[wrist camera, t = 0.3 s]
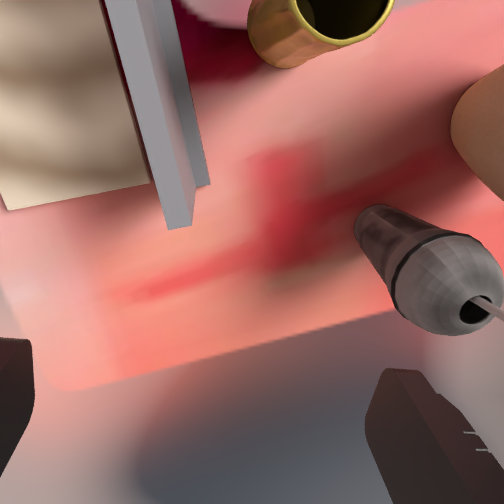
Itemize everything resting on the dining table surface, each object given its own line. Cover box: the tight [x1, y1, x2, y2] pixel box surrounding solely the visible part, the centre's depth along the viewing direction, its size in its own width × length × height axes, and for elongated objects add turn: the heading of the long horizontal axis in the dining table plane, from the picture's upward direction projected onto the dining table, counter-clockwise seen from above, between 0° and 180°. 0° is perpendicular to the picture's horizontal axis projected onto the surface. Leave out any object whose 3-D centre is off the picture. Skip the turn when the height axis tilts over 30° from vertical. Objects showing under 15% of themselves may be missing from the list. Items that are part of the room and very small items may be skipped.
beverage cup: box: [354, 204, 504, 336], centre depth 29 cm, size 7×7×20 cm
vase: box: [247, 0, 395, 68], centre depth 24 cm, size 6×6×14 cm
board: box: [0, 0, 151, 211], centre depth 29 cm, size 20×12×1 cm, turn 10°
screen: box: [105, 0, 210, 230], centre depth 25 cm, size 22×4×11 cm, turn 10°
